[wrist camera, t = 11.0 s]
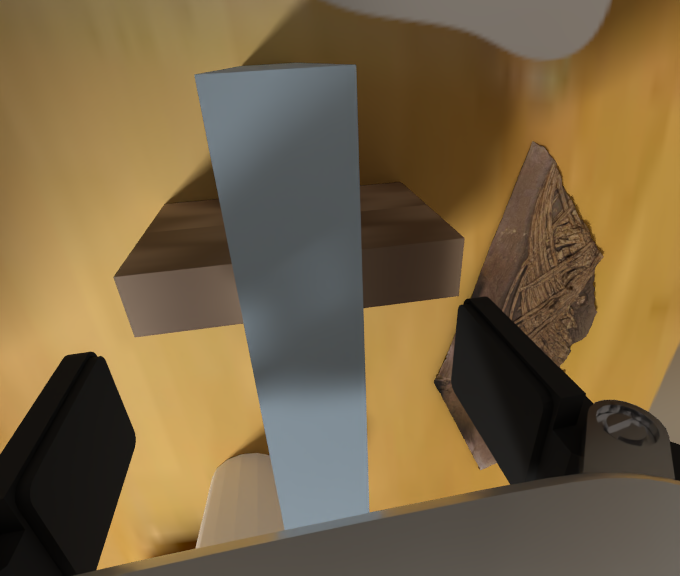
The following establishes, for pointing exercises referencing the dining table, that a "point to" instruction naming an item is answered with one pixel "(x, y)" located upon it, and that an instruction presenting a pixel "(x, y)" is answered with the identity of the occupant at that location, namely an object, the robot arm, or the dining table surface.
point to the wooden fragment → (534, 277)
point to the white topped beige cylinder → (241, 501)
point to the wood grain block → (218, 277)
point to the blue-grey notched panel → (297, 270)
